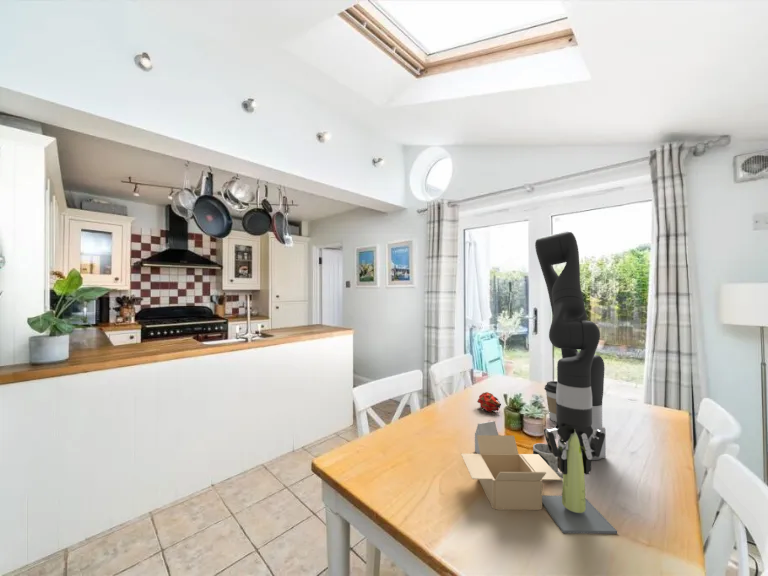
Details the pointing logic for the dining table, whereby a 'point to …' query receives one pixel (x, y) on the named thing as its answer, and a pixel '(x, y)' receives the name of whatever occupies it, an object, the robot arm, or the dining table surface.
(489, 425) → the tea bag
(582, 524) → the mat
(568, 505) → the light green tall cone
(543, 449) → the mug
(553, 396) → the coffee cup
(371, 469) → the dining table surface
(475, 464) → the carton
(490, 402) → the dragon fruit
